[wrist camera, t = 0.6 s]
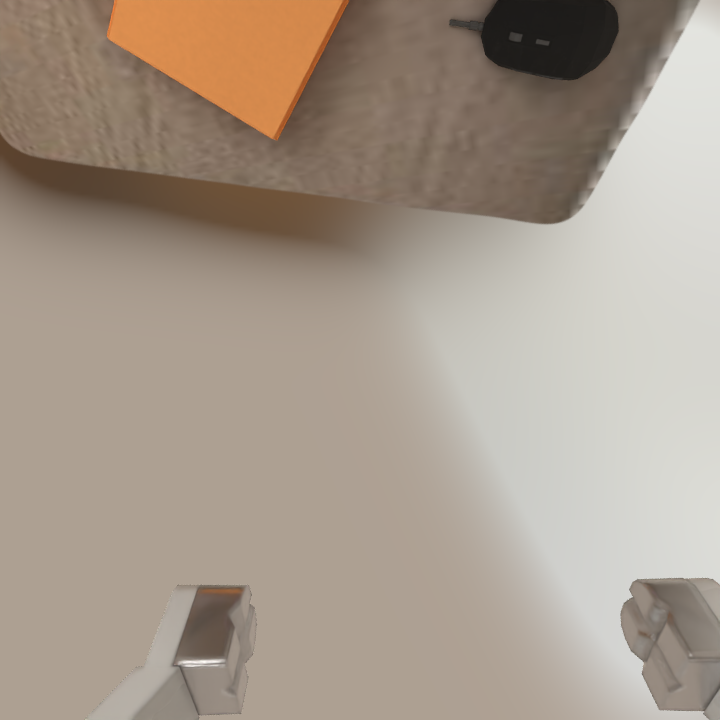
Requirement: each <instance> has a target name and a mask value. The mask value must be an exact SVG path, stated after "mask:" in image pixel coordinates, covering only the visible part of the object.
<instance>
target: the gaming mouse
mask: <svg viewBox="0 0 720 720" xmlns="http://www.w3.org/2000/svg"><path fill="white" fill-rule="evenodd" d="M449 25H452V26H460V27H467V28H469V30H477V29H478V30H480V31H482V30H483V31H482V35H481V38H482V42H483V47H484V51H485V55H486V56H487V57H488V58H489V59H490V60H492V61H493V62H494V63H496V64H497V65H498V66H501V67H505V68H508V69H511V70H515V71H518V72H523V73H527V74H532V75H535V76H541V77H546V78H550V79H560V80H574V79H578V78H580V77H582V76H583V75H585V74H587V73H588V72H590V71H591V70H593V69H595V68H596V67H597V66H598V65H599V64H600V63H601V62H602V61H603V60H604V59H605V58H606V57H607V56H608V54H609V53H610V50H611V48H612V46H613V43H614V41H615V38H616V36H617V34H618V31H619V30H618V16H617V12H616V10H615V8H614V7H613V6H612V5H611V4H610V3H609V2H608V1H606V0H498V1H497V3H496V4H495V6H494V7H493V9H492V10H491V12H490V13H489V15H488V16H487V17H486V18H485V22H484V24H483V23H481V22H480V23H478V22H477V21H470V22H464V21H456V20H450V24H449Z"/></svg>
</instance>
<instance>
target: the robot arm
mask: <svg viewBox="0 0 720 720" xmlns="http://www.w3.org/2000/svg"><path fill="white" fill-rule="evenodd" d="M629 590H630V592H631V594H632V596H633V597H632V598H630V599H629V600H627V601H626V602H625V603H624V605H623V608H622V610H621V626H622V629H623V633H624V636H625V639H626V641H627V643H628V645H629V648H630V650H631V651H632V652H633V653H634V654H635V655H636V656H637V657H639V658H640V659H641V660H642V661H643V662H644V665H643V671H642V675H643V677H644V679H645V681H646V683H647V686H648V688H649V690H650V692H651V694H652V696H653V698H654V700H655V702H656V704H657V706H658V708H659V710H674V711H676V710H677V711H705V712H704V713H703V714H704V715H705V716H706V717H707V718H708V719H709V720H720V585H719V584H718V583H717V582H716V581H714V580H713V579H709V578H691V579H684V578H667V579H637V580H636V581H634V582H633V583H632V585H631V587H630V589H629ZM251 595H252V594H251V591H250V587H249V585H177V587H176V588H175V589H174V591H173V592H172V594H171V596H170V599H169V602H168V604H167V607H166V609H165V612H164V615H163V617H162V620H161V623H160V625H159V628H158V631H157V633H156V636H155V638H154V641H153V644H152V646H151V649H150V652H149V654H148V657H147V660H146V662H145V665H144V666H143V667H142V666H141V667H136V668H135V669H134V670H133V671H132V672H131V673H130V674H129V675H128V676H127V677H126V678H125V679H124V680H123V681H122V682H121V683H120V684H119V685H118V686H117V687H116V688H115V689H114V690H113V691H112V692H111V693H110V694H109V695H108V696H107V697H106V698H105V699H104V700H103V701H102V702H101V703H100V704H99V705H98V706H97V707H96V708H95V709H94V710H93V711H92V712H91V713H90V714H89V715H88V716H87V717H86V718H85V719H84V720H199V716H198V715H220V714H241V712H242V707H243V702H244V697H245V692H246V687H247V682H248V675H247V670H246V667H245V663H246V662H247V661H248V660H249V658H250V657H251V656H252V655H253V651H254V645H255V638H256V626H257V623H256V613H255V608H254V607H253V606H252V605H251V604H250V600H251Z"/></svg>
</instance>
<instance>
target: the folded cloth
mask: <svg viewBox="0 0 720 720" xmlns="http://www.w3.org/2000/svg"><path fill="white" fill-rule="evenodd" d="M348 2H349V0H115V2H114V6H113V11H112V15H111V20H110V24H109V28H108V33H107V37H108V38H109V40H111V41H112V42H114V43H116V44H117V45H119V46H121V47H122V48H124V49H125V50H127V51H129V52H130V53H132V54H134V55H135V56H137V57H139V58H140V59H142V60H143V61H145V62H147V63H148V64H150V65H152V66H153V67H155V68H157V69H158V70H160V71H162V72H163V73H165V74H166V75H168V76H170V77H171V78H173V79H175V80H176V81H178V82H180V83H181V84H183V85H184V86H186V87H188V88H189V89H191V90H193V91H194V92H196V93H198V94H199V95H201V96H203V97H204V98H206V99H207V100H209V101H211V102H212V103H214V104H216V105H217V106H219V107H221V108H222V109H224V110H225V111H227V112H229V113H230V114H232V115H234V116H235V117H237V118H239V119H240V120H242V121H244V122H245V123H247V124H248V125H250V126H252V127H253V128H255V129H257V130H258V131H260V132H262V133H263V134H265V135H266V136H268V137H270V138H271V139H275V140H278V138H279V136H280V134H281V132H282V130H283V128H284V126H285V125H286V123H287V121H288V119H289V117H290V115H291V113H292V111H293V109H294V107H295V105H296V103H297V101H298V99H299V97H300V95H301V93H302V91H303V90H304V88H305V86H306V84H307V82H308V80H309V78H310V76H311V74H312V72H313V70H314V68H315V66H316V64H317V62H318V60H319V58H320V56H321V55H322V53H323V51H324V49H325V47H326V45H327V43H328V41H329V39H330V37H331V35H332V33H333V31H334V29H335V27H336V25H337V23H338V21H339V20H340V18H341V16H342V14H343V12H344V10H345V8H346V6H347V4H348Z"/></svg>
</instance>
